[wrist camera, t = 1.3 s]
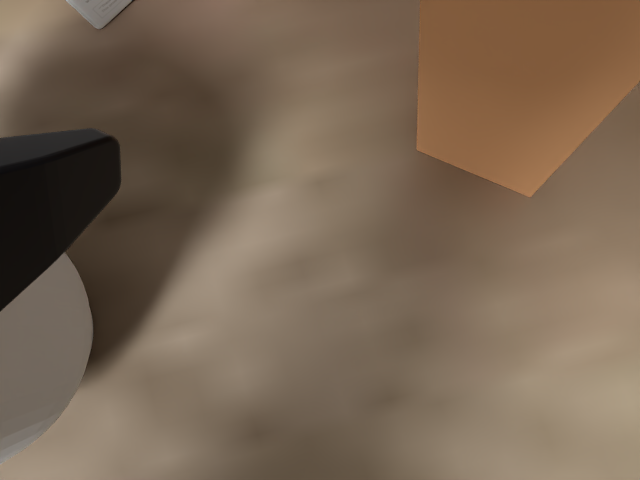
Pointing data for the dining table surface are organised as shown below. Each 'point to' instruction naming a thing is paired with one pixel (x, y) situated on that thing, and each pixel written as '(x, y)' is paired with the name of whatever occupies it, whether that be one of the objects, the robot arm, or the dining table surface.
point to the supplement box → (99, 10)
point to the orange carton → (521, 81)
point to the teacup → (42, 354)
